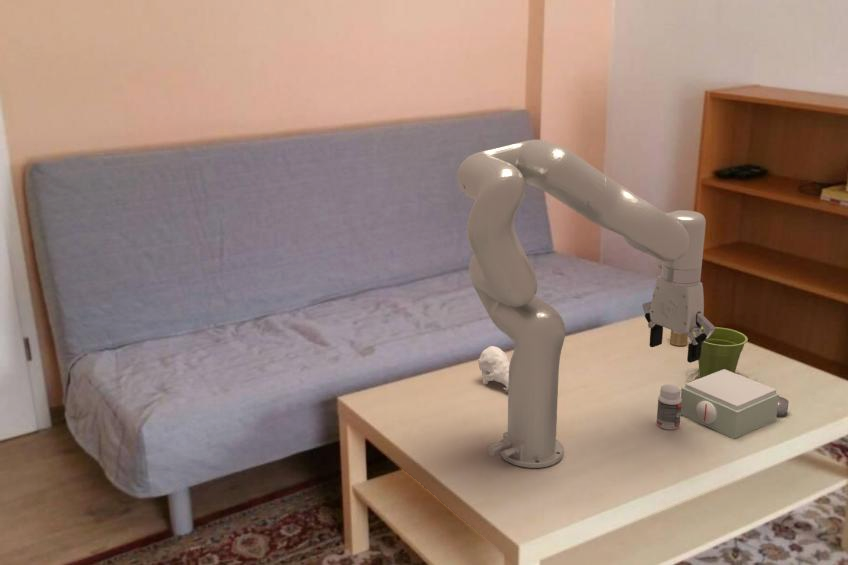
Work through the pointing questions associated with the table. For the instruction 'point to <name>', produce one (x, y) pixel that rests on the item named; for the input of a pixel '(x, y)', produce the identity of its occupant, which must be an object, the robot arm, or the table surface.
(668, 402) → the pill bottle
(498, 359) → the white lumpy rounded piece
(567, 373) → the table surface
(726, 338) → the plant pot
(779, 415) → the spacer
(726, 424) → the scale
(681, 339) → the sprinkles bottle
